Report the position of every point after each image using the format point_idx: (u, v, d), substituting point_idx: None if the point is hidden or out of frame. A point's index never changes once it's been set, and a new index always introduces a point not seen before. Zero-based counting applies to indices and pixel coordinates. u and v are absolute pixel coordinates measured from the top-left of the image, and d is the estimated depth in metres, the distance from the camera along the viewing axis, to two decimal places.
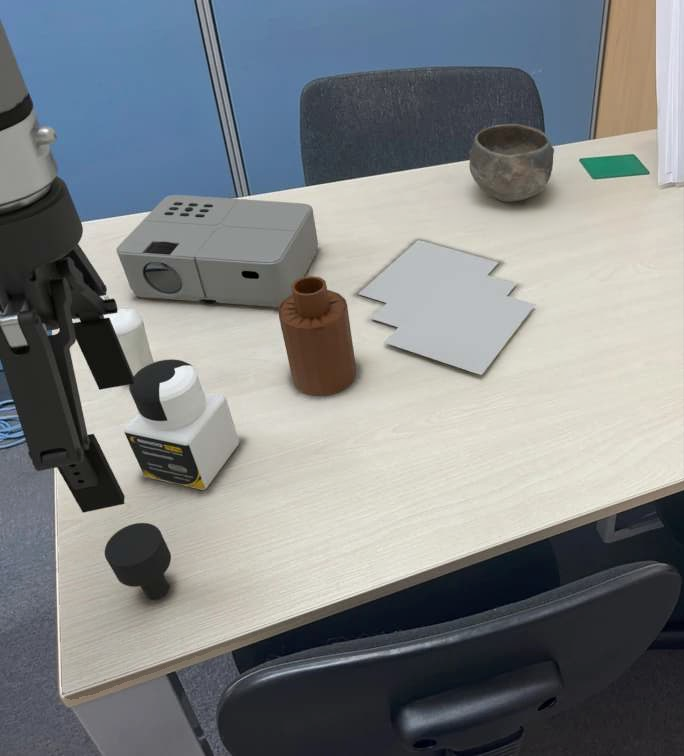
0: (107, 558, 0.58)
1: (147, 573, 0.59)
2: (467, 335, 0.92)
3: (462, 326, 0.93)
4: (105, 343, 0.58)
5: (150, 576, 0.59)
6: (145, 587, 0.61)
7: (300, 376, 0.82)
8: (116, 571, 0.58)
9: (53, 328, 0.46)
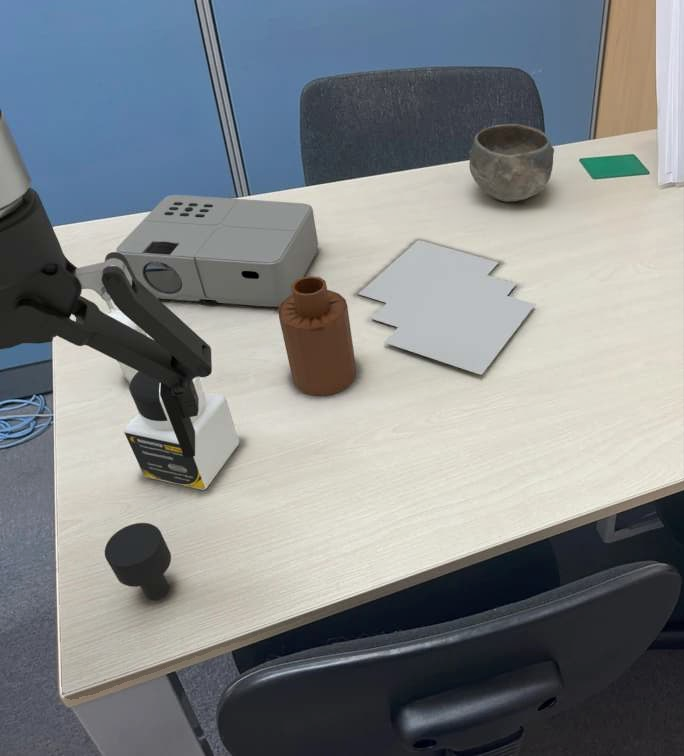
0: (107, 558, 0.58)
1: (147, 573, 0.59)
2: (467, 335, 0.92)
3: (462, 325, 0.93)
4: None
5: (150, 576, 0.59)
6: (145, 587, 0.61)
7: (300, 376, 0.82)
8: (116, 571, 0.58)
9: None
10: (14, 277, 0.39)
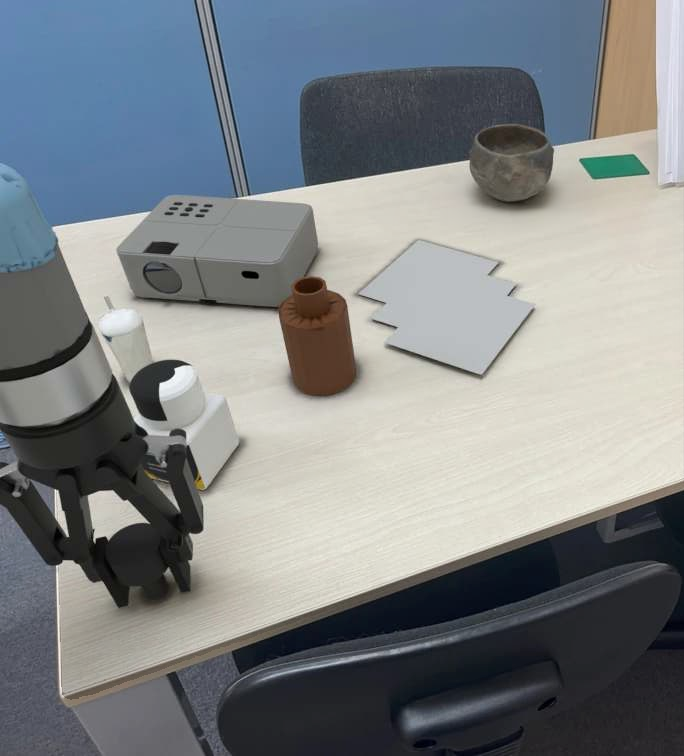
0: (107, 558, 0.58)
1: (147, 573, 0.59)
2: (467, 335, 0.92)
3: (462, 325, 0.93)
4: None
5: (150, 576, 0.59)
6: (145, 587, 0.61)
7: (300, 376, 0.82)
8: (116, 571, 0.58)
9: None
10: (99, 452, 0.48)
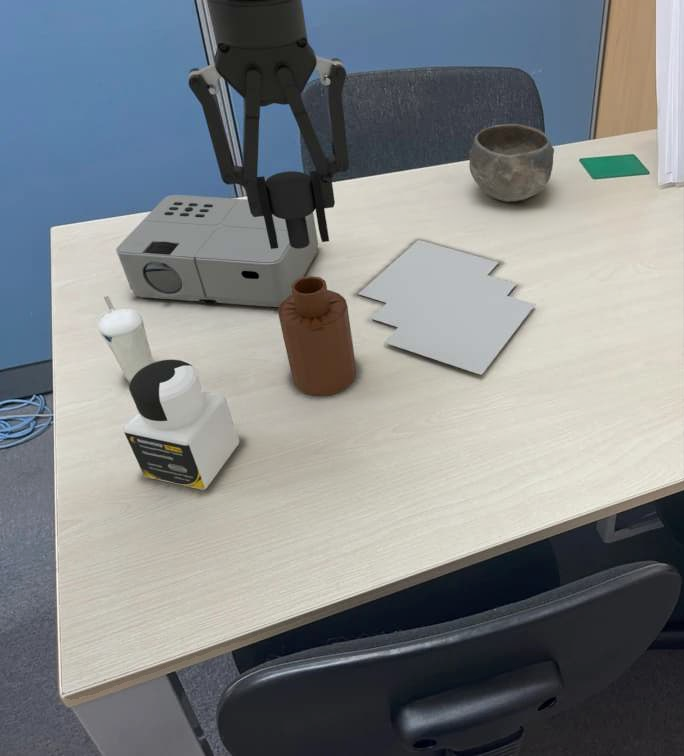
0: (269, 187, 0.68)
1: (300, 204, 0.69)
2: (467, 335, 0.92)
3: (462, 325, 0.93)
4: None
5: (302, 209, 0.69)
6: (293, 231, 0.72)
7: (300, 376, 0.82)
8: (276, 199, 0.68)
9: None
10: (288, 39, 0.58)
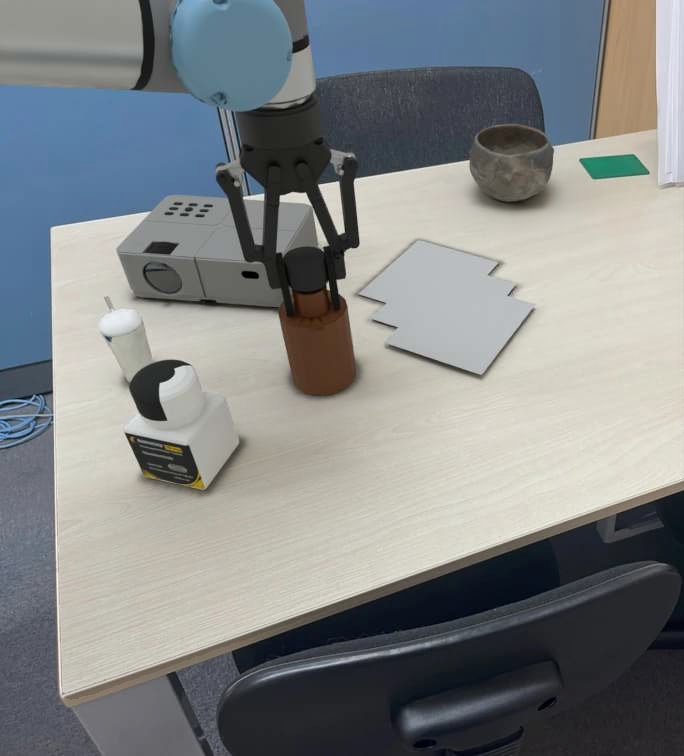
0: (286, 263, 0.74)
1: (315, 278, 0.75)
2: (467, 335, 0.92)
3: (462, 325, 0.93)
4: None
5: (317, 282, 0.75)
6: None
7: (300, 376, 0.82)
8: (293, 275, 0.74)
9: None
10: (306, 140, 0.65)
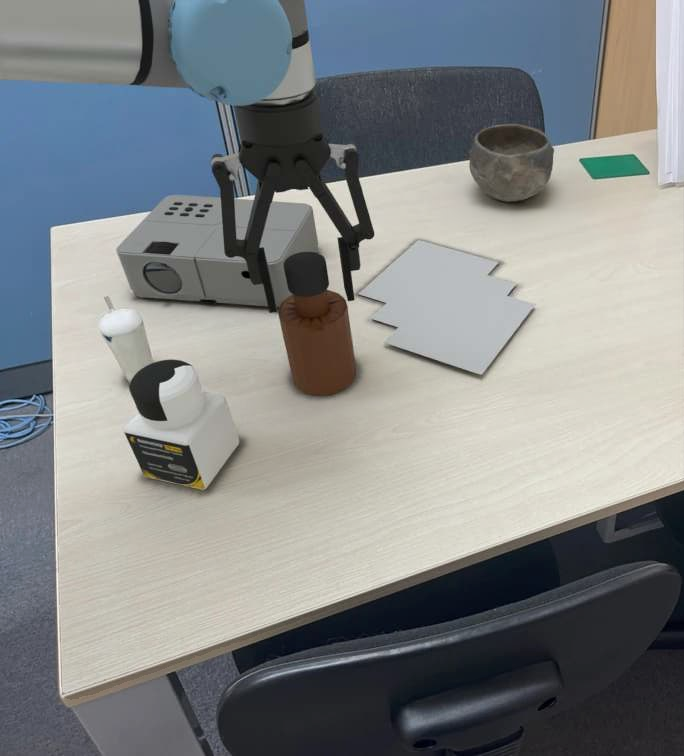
0: (287, 269, 0.75)
1: (316, 284, 0.75)
2: (467, 335, 0.92)
3: (462, 325, 0.93)
4: (267, 266, 0.75)
5: (317, 288, 0.76)
6: None
7: (300, 376, 0.82)
8: (293, 280, 0.75)
9: None
10: (306, 137, 0.64)
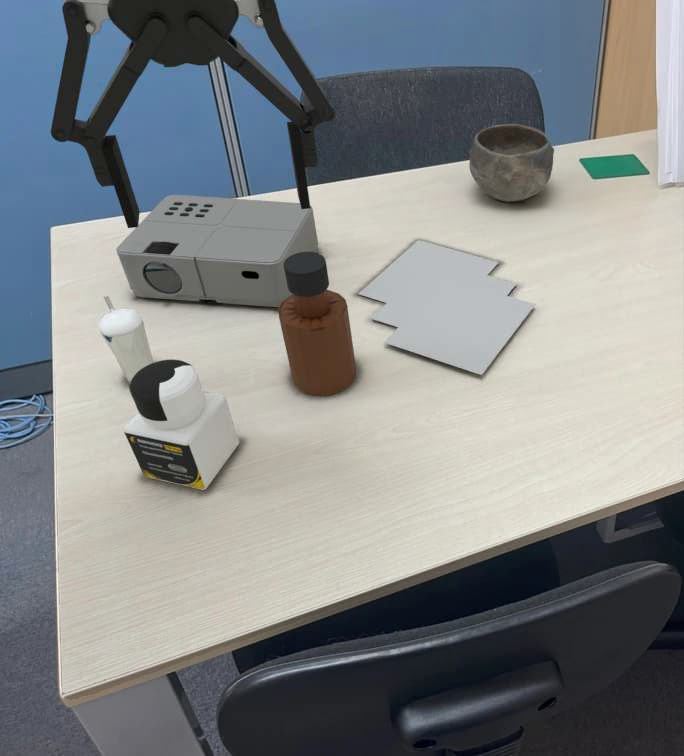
0: (287, 269, 0.75)
1: (316, 284, 0.75)
2: (467, 335, 0.92)
3: (462, 325, 0.93)
4: (122, 162, 0.55)
5: (317, 288, 0.76)
6: None
7: (300, 376, 0.82)
8: (293, 280, 0.75)
9: None
10: None
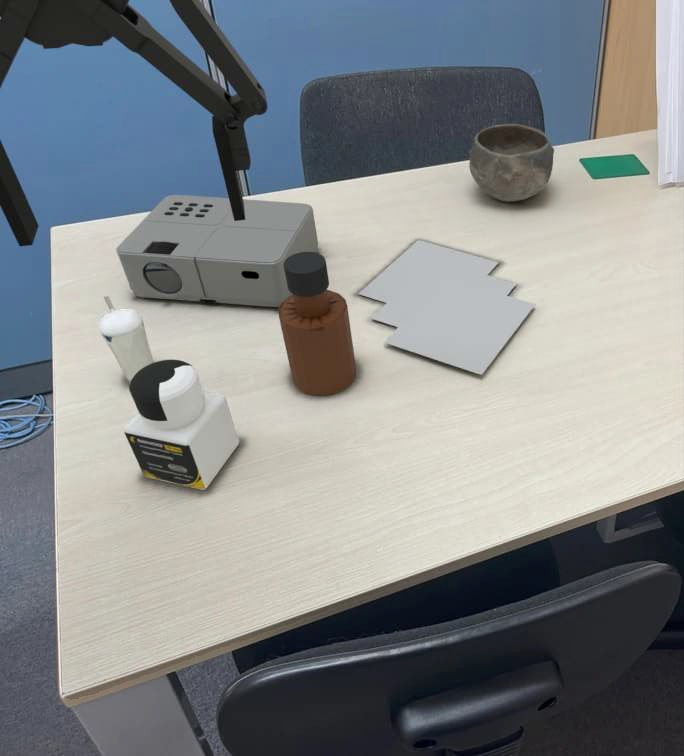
0: (287, 269, 0.75)
1: (316, 284, 0.75)
2: (467, 335, 0.92)
3: (462, 325, 0.93)
4: (7, 167, 0.46)
5: (317, 288, 0.76)
6: None
7: (300, 376, 0.82)
8: (293, 280, 0.75)
9: None
10: None
